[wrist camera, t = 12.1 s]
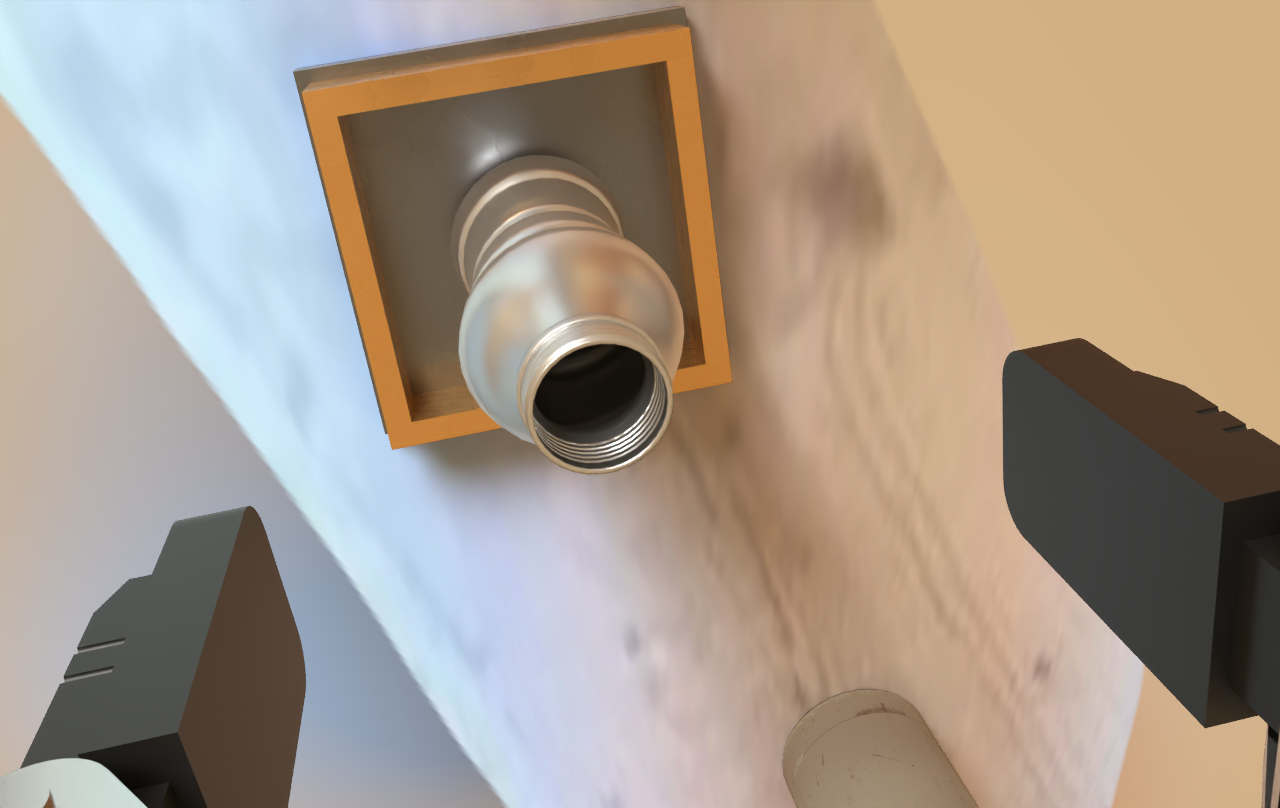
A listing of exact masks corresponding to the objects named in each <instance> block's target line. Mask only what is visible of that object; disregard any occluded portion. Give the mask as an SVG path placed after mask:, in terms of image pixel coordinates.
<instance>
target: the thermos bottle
mask: <svg viewBox="0 0 1280 808" xmlns="http://www.w3.org/2000/svg"><path fill="white" fill-rule="evenodd" d="M782 764H783V774H784V777H785V780H786V783H787V786H788V788H789V791H790V793H791V795H792V798H793V800H794V802H795V805H796V807H797V808H979V807H978V805H977V804H976V802H975V800H974V799H973V797H972V796H971V794H970V793H969V791H968V789H967V788H966V786H965V785H964V783H963V782H962V780H961V778H960V777H959V775H958V774H957V772H956V771H955V769H954V767H953V766H952V764H951V763H950V761H949V760H948V758H947V756H946V755H945V753H944V752H943V750H942V749H941V747H940V745H939V744H938V742H937V741H936V739H935V738H934V736H933V734H932V733H931V731H930V730H929V728H928V727H927V725H926V723H925V722H924V720H923V719H922V717H921V715H920V714H919V712H918V711H917V710H916V709H915V708H914V707H913V706H912V705H911V704H910V703H909V702H908V701H906V700H905V699H903V698H901V697H900V696H898V695H895V694H892V693H889V692H887V691H881V690H874V689H866V690H855V691H850V692H846V693H842V694H839V695H837V696H834V697H832V698H829V699H828V700H826V701H824V702H822V703H821V704H819V705H817V706H816V707H815V708H813V709H812V710H811V711H810V712H808V713H807V714H806V715H805V716H804V717H803V718H802V719H801V721H800V722H799V723H798V724H797V725H796V726H795V728H794V730H793V731H792V733H791V735H790V736H789V738H788V741H787V744H786V746H785V749H784V755H783V762H782Z"/></svg>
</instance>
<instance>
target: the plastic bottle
mask: <svg viewBox="0 0 1280 808" xmlns="http://www.w3.org/2000/svg"><path fill="white" fill-rule="evenodd" d="M451 253H452V259H453V265H454V267H455V270H456V272H457V275H458V278H459V280H460V281H461V283H462V285H463V286H464V288H465V289H466V291H467V292H468V294H469V296H468V299H467V301H466V304H465V308H464V312H463V315H462V319H461V325H460V332H459V358H460V364H461V370H462V374H463V376H464V379H465V381H466V384H467V387H468V389H469V392H470V393H471V394H472V396H473V397H474V399H475V400H476V402H477V403H478V405H479V406H480V408H481V409H482V410H483V411H484V412H485V413H486V414H487V415H488V416H489V417H490V418H491V419H492V420H494V421H495V422H496V423H497V424H498V425H500V426H501V427H502V428H504V429H505V430H507V431H508V432H510V433H512V434H513V435H515V436H516V437H518V438H520V439H522V440H525V441H527V442H530V443H533V444H535V445H536V446H537V447H538V449H539V450H540V451H541V452H542V453H543V454H544V455H545V456H546V457H547V458H548V459H549V460H550V461H552V462H554V463H555V464H557V465H558V466H560V467H562V468H564V469H567V470H570V471H572V472H576V473H582V474H605V473H610V472H615V471H618V470H621V469H623V468H626V467H629V466H630V465H632V464H634V463H636V462H637V461H639V460H641V459H642V458H643V457H644V456H646V455H647V454H648V453H649V452H650V451H651V450H652V449H653V448H654V447H655V446H656V445H657V443H658V442H659V441H660V440H661V438H662V437H663V435H664V433H665V431H666V429H667V428H668V425H669V422H670V419H671V416H672V410H673V402H674V400H673V388H672V382H673V380H674V377H675V374H676V371H677V368H678V365H679V362H680V358H681V354H682V347H683V339H684V323H683V311H682V308H681V305H680V302H679V298H678V295H677V292H676V290H675V288H674V286H673V285H672V283H671V281H670V279H669V277H668V276H667V274H666V273H665V272H664V271H663V269H662V268H661V267H660V266H659V265H658V264H657V263H656V262H655V260H654V259H653V258H652V257H650V256H649V255H648V254H647V253H646V252H645V251H644V250H642V249H641V248H639V247H638V246H637V245H635V244H634V243H633V242H631V241H630V240H628V239H626V238H624V233H623V223H622V217H621V214H620V211H619V208H618V205H617V202H616V201H615V199H614V197H613V195H612V194H611V192H610V190H609V189H608V187H607V186H606V185H605V184H604V183H603V182H602V181H601V179H600V178H599V177H598V176H596V175H595V174H594V173H592V172H591V171H590V170H588V169H587V168H586V167H584V166H582V165H580V164H578V163H575V162H573V161H571V160H568V159H564V158H560V157H556V156H545V155H530V156H524V157H518V158H515V159H512V160H509V161H507V162H504V163H502V164H500V165H498V166H497V167H495V168H493V169H492V170H490V171H488V172H487V173H486V174H485V175H484V176H483V177H482V178H481V179H480V180H478V181H477V182H476V183H475V184H474V185H473V186H472V188H471V189H470V190H469V192H468V193H467V194H466V196H465V197H464V198H463V200H462V202H461V204H460V207H459V209H458V211H457V213H456V215H455V219H454V223H453V227H452V231H451Z"/></svg>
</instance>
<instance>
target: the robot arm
mask: <svg viewBox="0 0 1280 808" xmlns="http://www.w3.org/2000/svg"><path fill="white" fill-rule="evenodd" d="M1002 384H1003V480H1004V491H1005V496H1006V501H1007V504H1008V508H1009V511H1010V514H1011V516H1012V519H1013V521H1014V523H1015V525H1016V527H1017V529H1018V530H1019V532H1020V533H1021V534H1022V536H1023V537H1024V538H1025V539H1026V540H1027V541H1028V542H1029V543H1030V544H1031V545H1032V547H1033V548H1034V549H1035V550H1036V551H1037V552H1038V553H1039V554H1040V555H1041V556H1042V557H1043V558H1044V559H1045V560H1046V561H1047V562H1048V563H1049V564H1050V565H1051V567H1052V568H1053V569H1054V570H1055V571H1056V572H1057V573H1058V574H1059V575H1060V576H1061V577H1062V578H1063V579H1064V580H1065V581H1066V582H1067V583H1068V584H1069V586H1070V587H1071V588H1072V589H1073V590H1074V591H1075V592H1076V593H1077V594H1078V595H1079V596H1080V597H1081V598H1082V599H1083V600H1084V601H1085V602H1086V603H1087V604H1088V606H1089V607H1090V608H1091V609H1092V610H1093V611H1094V612H1095V613H1096V614H1097V615H1098V616H1099V617H1100V618H1101V619H1102V620H1103V621H1104V622H1105V623H1106V624H1107V626H1108V627H1109V628H1110V629H1111V630H1112V631H1113V632H1114V633H1115V634H1116V635H1117V636H1118V637H1119V638H1120V639H1121V640H1122V641H1123V642H1124V643H1125V645H1126V646H1127V647H1128V648H1129V649H1130V650H1131V651H1132V652H1133V653H1134V654H1135V655H1136V656H1137V657H1138V658H1139V659H1140V660H1141V661H1142V662H1143V663H1144V665H1145V666H1146V667H1147V668H1148V669H1149V670H1151V672H1152V673H1153V674H1154V675H1155V676H1156V677H1157V678H1158V679H1159V680H1160V681H1161V682H1162V683H1163V685H1164V686H1165V687H1167V689H1168V690H1169V691H1170V692H1171V693H1172V694H1173V695H1174V696H1175V697H1176V698H1177V699H1178V700H1179V701H1180V702H1181V704H1182V705H1183V706H1184V707H1185V708H1186V709H1187V710H1188V711H1189V712H1190V713H1191V714H1192V715H1193V716H1194V717H1195V718H1196V719H1197V720H1198V721H1199V722H1200V724H1201V725H1203V726H1204V728H1208V727H1212V726H1216V725H1220V724H1225V723H1229V722H1233V721H1237V720H1241V719H1245V718H1249V717H1253V716H1258V715H1259V716H1260V717H1261V718H1262V719H1263V720H1264V721H1265V722H1266V723H1267V732H1266V740H1265V749H1264V762H1263V784H1262V807H1261V808H1280V445H1278V444H1277V443H1275V442H1273V441H1272V440H1270V439H1268V438H1267V437H1265V436H1264V435H1262V434H1260V433H1259V432H1257V431H1256V430H1254V429H1248V430H1247V428H1246V424H1245V423H1243V422H1242V421H1240V420H1238V419H1237V418H1235V417H1234V416H1232V415H1231V414H1229V413H1227V412H1226V411H1221V412H1219V410H1218V406H1216V405H1215V404H1213V403H1211V402H1210V401H1208V400H1206V399H1205V398H1204V397H1202V396H1200V395H1199V394H1197V393H1196V392H1194V391H1192V390H1191V389H1189V388H1188V387H1186V386H1184V385H1181V384H1178V383H1175V382H1172V381H1168V380H1165V379H1162V378H1159V377H1155V376H1152V375H1149V374H1145V373H1142V372H1139V371H1132V370H1131V369H1129V368H1127V367H1126V366H1125V365H1123V364H1121V363H1120V362H1119V361H1117V360H1115V359H1114V358H1112V357H1111V356H1109V355H1108V354H1106V353H1105V352H1103V351H1102V350H1100V349H1099V348H1097V347H1096V346H1094V345H1093V344H1091V343H1090V342H1088V341H1086V340H1084V339H1081V338H1077V339H1071V340H1067V341H1062V342H1057V343H1052V344H1047V345H1042V346H1037V347H1032V348H1027V349H1022V350H1018V351H1013V352H1011V353H1010V354H1009V355H1008V356H1007V358H1006V360H1005V364H1004V368H1003V379H1002ZM77 649H78V654H76V655H74V656H73V658H72V660H71V662H70V664H69V666H68V668H67V670H66V673H65V675H64V680H65V683H62V684H60V685H59V687H58V689H57V692H56V694H55V696H54V698H53V700H52V702H51V704H50V706H49V708H48V711H47V713H46V715H45V717H44V719H43V721H42V723H41V726H40V728H39V730H38V732H37V734H36V736H35V738H34V740H33V742H32V745H31V746H30V749H29V751H28V753H27V755H26V757H25V759H24V761H23V763H22V765H21V768H20V769H19V770H16V771H13V772H11V773H9V774H6V775H4V776H2V777H0V808H288V802H289V796H290V789H291V783H292V776H293V770H294V764H295V757H296V751H297V744H298V738H299V731H300V724H301V718H302V712H303V705H304V698H305V691H306V673H305V663H304V656H303V650H302V645H301V640H300V636H299V633H298V630H297V626H296V623H295V620H294V617H293V614H292V611H291V608H290V605H289V602H288V599H287V596H286V593H285V590H284V586H283V583H282V580H281V578H280V574H279V571H278V568H277V565H276V562H275V559H274V556H273V553H272V550H271V547H270V544H269V540H268V537H267V534H266V531H265V529H264V526H263V523H262V521H261V518H260V517H259V515H258V513H257V512H256V510H255V509H254V508H253V507H251V506H248V507H242V508H237V509H233V510H228V511H223V512H218V513H213V514H208V515H203V516H198V517H194V518H189V519H184V520H179V521H176V522H175V523H174V524H173V525H172V527H171V530H170V532H169V535H168V537H167V539H166V542H165V544H164V547H163V549H162V552H161V554H160V556H159V559H158V561H157V564H156V566H155V568H154V571H153V573H152V575H148V576H144V577H138V578H133V579H129V580H128V581H127V582H126V583H125V584H124V585H123V586H122V587H121V588H120V589H119V590H117V591H116V592H115V593H114V594H113V595H112V596H111V597H110V598H109V599H108V600H107V601H106V602H105V603H104V604H103V605H102V606H101V607H100V608H99V609H98V610H97V611H95V612H94V613H93V616H92V618H91V620H90V622H89V624H88V626H87V628H86V630H85V632H84V634H83V637H82V639H81V641H80V643H79V645H78V647H77Z"/></svg>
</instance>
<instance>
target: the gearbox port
mask: <svg viewBox="0 0 1280 808" xmlns="http://www.w3.org/2000/svg"><path fill="white" fill-rule="evenodd" d="M293 73H294V77H295V81H296V85H297V89H298V93H299V97H300V101H301V104H302V108H303V112H304V116H305V120H306V124H307V128H308V132H309V136H310V140H311V144H312V148H313V152H314V156H315V160H316V163H317V167H318V171H319V175H320V179H321V183H322V187H323V191H324V195H325V199H326V203H327V207H328V211H329V215H330V219H331V222H332V226H333V230H334V234H335V238H336V242H337V246H338V250H339V254H340V258H341V262H342V266H343V270H344V274H345V277H346V281H347V285H348V289H349V293H350V297H351V301H352V305H353V309H354V313H355V317H356V321H357V325H358V329H359V333H360V336H361V340H362V344H363V348H364V352H365V356H366V360H367V364H368V368H369V372H370V376H371V380H372V384H373V388H374V392H375V395H376V399H377V403H378V407H379V411H380V415H381V419H382V423H383V427H384V431H385V434H388V436H389V440H390V444H391V447H392V450H394V449H399V448H404V447H409V446H414V445H419V444H424V443H429V442H434V441H439V440H444V439H449V438H454V437H459V436H464V435H469V434H474V433H479V432H484V431H489V430H494V429H499V428H502V427H501V426H500V425H498V424H497V423H496V422H495V421H494V420H492V419H491V418H490V417H489V416H488V415H487V414H486V413H485V412H484V411H483V410H482V409H481V408H480V406H479V405H478V403H477V402H476V400H475V399H474V397H473V396H472V394H471V393H470V392H469V389H468V387H467V384H466V381H465V379H464V376H463V374H462V370H461V364H460V358H459V332H460V325H461V319H462V315H463V312H464V308H465V304H466V301H467V299H468V296H469V294H468V292H467V291H466V289H465V288H464V286H463V285H462V283H461V281H460V280H459V278H458V275H457V272H456V270H455V267H454V265H453V259H452V253H451V231H452V227H453V223H454V219H455V215H456V213H457V211H458V209H459V207H460V204H461V202H462V200H463V198H464V197H465V196H466V194H467V193H468V192H469V190H470V189H471V188H472V186H473V185H474V184H475V183H476V182H477V181H478V180H480V179H481V178H482V177H483V176H484V175H485V174H486V173H487V172H488V171H490V170H492V169H493V168H495V167H497V166H498V165H500V164H502V163H504V162H507V161H509V160H512V159H515V158H518V157H524V156H530V155H545V156H556V157H560V158H564V159H568V160H571V161H573V162H575V163H578V164H580V165H582V166H584V167H586V168H587V169H588V170H590V171H591V172H592V173H594V174H595V175H596V176H598V177H599V178H600V179H601V181H602V182H603V183H604V184H605V185H606V186H607V187H608V189H609V190H610V192H611V194H612V195H613V197H614V199H615V201H616V202H617V205H618V208H619V211H620V214H621V217H622V223H623V233H624V238H626V239H628V240H630V241H631V242H633V243H634V244H635V245H637V246H638V247H639V248H641V249H642V250H644V251H645V252H646V253H647V254H648V255H649V256H650V257H652V258H653V259H654V260H655V262H656V263H657V264H658V265H659V266H660V267H661V268H662V269H663V271H664V272H665V273H666V274H667V276H668V277H669V279H670V281H671V283H672V285H673V286H674V288H675V290H676V292H677V295H678V298H679V302H680V305H681V308H682V311H683V323H684V339H683V347H682V354H681V358H680V362H679V365H678V368H677V371H676V374H675V377H674V380H673V382H672V388H673V394H675V393H680V392H685V391H690V390H695V389H700V388H705V387H710V386H715V385H720V384H725V383H730V382H732V376H731V367H730V359H729V351H728V342H727V334H726V326H725V317H724V309H723V301H722V293H721V284H720V276H719V268H718V259H717V251H716V243H715V234H714V226H713V218H712V209H711V201H710V193H709V184H708V176H707V168H706V159H705V151H704V143H703V135H702V126H701V118H700V110H699V101H698V93H697V85H696V76H695V68H694V60H693V51H692V43H691V35H690V28H688V27H687V23H686V14H685V7H681V6H675V7H669V8H663V9H657V10H651V11H645V12H638V13H632V14H626V15H620V16H614V17H608V18H602V19H596V20H590V21H584V22H578V23H572V24H565V25H559V26H553V27H547V28H541V29H535V30H529V31H523V32H517V33H511V34H505V35H499V36H492V37H486V38H480V39H474V40H468V41H462V42H456V43H450V44H444V45H438V46H432V47H426V48H419V49H413V50H407V51H401V52H395V53H389V54H383V55H377V56H371V57H365V58H359V59H353V60H346V61H340V62H334V63H328V64H322V65H316V66H310V67H304V68H298V69H296V70H295V71H294V72H293Z"/></svg>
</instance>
